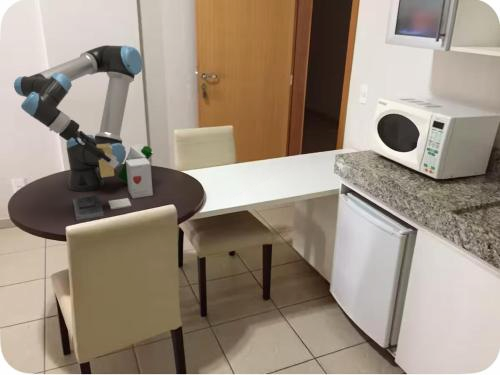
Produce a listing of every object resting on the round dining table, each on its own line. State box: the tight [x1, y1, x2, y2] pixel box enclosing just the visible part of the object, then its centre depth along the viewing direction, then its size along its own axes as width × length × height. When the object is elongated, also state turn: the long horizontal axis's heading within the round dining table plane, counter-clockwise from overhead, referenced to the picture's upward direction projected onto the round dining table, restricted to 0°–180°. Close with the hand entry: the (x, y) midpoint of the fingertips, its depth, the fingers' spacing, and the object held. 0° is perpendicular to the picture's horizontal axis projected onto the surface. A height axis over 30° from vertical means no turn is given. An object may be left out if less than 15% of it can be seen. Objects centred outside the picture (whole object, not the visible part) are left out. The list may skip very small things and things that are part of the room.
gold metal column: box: [96, 143, 115, 178], centre depth 167 cm, size 5×5×12 cm
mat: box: [108, 197, 132, 210], centre depth 176 cm, size 8×8×1 cm
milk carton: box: [117, 142, 154, 185], centre depth 194 cm, size 9×9×20 cm
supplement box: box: [125, 158, 154, 199], centre depth 184 cm, size 9×9×15 cm
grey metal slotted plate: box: [72, 194, 105, 221], centre depth 171 cm, size 18×10×2 cm, turn 25°
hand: (115, 163), depth 169 cm, fingers closed on gold metal column, 5 cm apart
